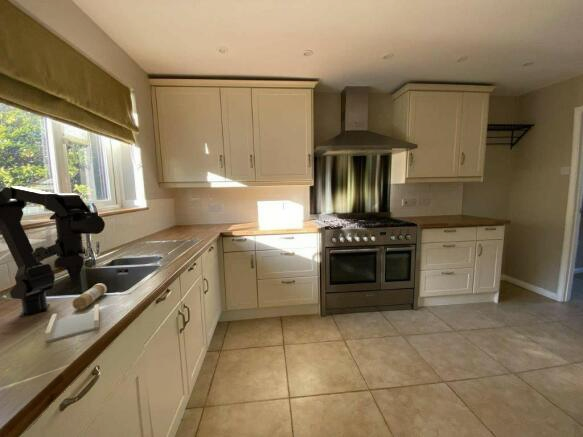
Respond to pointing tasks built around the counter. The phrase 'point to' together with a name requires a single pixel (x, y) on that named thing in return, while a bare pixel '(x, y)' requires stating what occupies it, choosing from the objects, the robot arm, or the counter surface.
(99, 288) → the sprinkles bottle
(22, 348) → the counter surface
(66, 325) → the cradle board
